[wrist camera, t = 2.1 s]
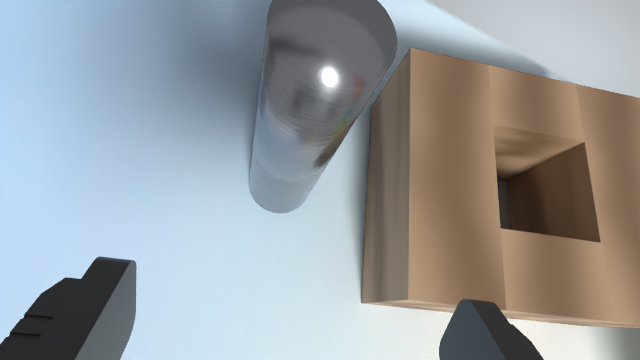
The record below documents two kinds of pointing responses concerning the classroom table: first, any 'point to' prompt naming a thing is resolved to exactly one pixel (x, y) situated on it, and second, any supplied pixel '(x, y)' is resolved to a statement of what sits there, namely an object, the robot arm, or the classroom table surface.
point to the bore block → (523, 189)
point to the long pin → (313, 90)
